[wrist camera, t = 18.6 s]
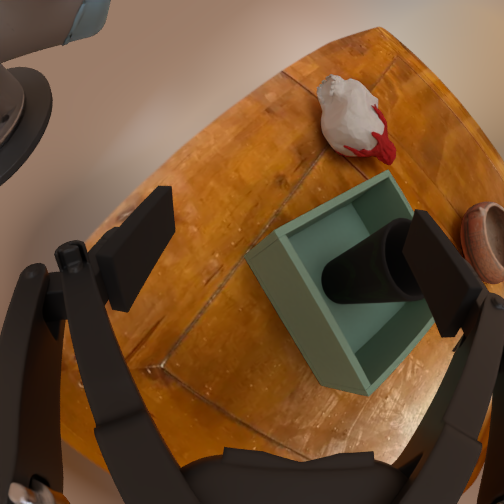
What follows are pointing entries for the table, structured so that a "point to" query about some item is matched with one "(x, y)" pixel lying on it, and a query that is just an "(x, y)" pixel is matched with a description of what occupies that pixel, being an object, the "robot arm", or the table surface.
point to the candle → (353, 120)
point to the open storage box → (332, 314)
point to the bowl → (484, 240)
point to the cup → (373, 270)
